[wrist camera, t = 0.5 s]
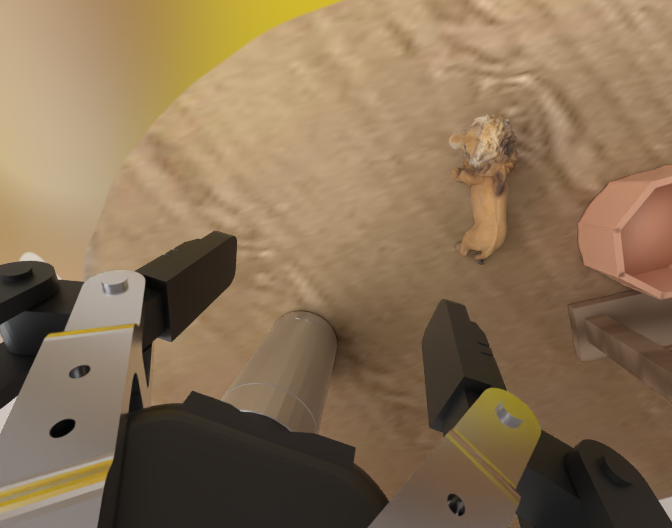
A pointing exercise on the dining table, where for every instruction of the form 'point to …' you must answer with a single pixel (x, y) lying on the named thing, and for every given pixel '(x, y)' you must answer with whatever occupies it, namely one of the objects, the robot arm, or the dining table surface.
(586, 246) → the bowl
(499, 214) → the lion figurine
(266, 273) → the dining table surface
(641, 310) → the stand
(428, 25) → the dining table surface
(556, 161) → the dining table surface
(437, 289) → the dining table surface
